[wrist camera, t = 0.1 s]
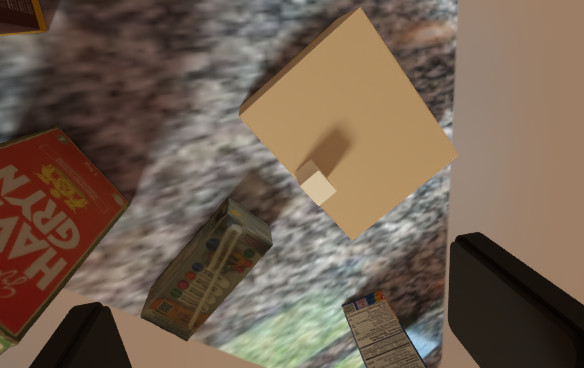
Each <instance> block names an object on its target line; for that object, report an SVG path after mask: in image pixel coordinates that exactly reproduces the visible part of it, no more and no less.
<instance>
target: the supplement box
mask: <svg viewBox="0 0 584 368" xmlns="http://www.w3.org/2000/svg"><path fill="white" fill-rule="evenodd" d="M42 32H47V27H46V23H45V20H44V17H43V13H42V10H41V7H40V3H39V0H0V36H4V35H16V34H29V33H42Z"/></svg>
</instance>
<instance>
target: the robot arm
mask: <svg viewBox="0 0 584 368" xmlns="http://www.w3.org/2000/svg"><path fill="white" fill-rule="evenodd" d="M449 269H450V270H449V299H448V300H449V301H448V322H449V326H450V328H451V330H452V332H453V333H454V335H455V336H456V337H457V338H458V340H459V341H460V342H461V344H462V345H463V346H464V348H465V349H466V350H467V351H468V352H469V354H470V355H471V356H472V358H473V359H474V360H475V362H476V363H477V364H478V365H479V367H480V368H584V305H583V304H581V303H580V302H579V301H577V300H576V299H574V298H573V297H571V296H570V295H569V294H567V293H566V292H564V291H563V290H561V289H560V288H559V287H557V286H556V285H554V284H553V283H551V282H550V281H549V280H547V279H546V278H544V277H543V276H542V275H540V274H539V273H537V272H536V271H534V270H533V269H532V268H530V267H529V266H527V265H526V264H525V263H523V262H522V261H520V260H519V259H517V258H516V257H515V256H513V255H512V254H510V253H509V252H507V251H506V250H505V249H503V248H502V247H500V246H499V245H498V244H496V243H495V242H493V241H492V240H490V239H489V238H488V237H486V236H485V235H483V234H482V233H480V232H475V233H469V234H464V235H458V236H457V237H456V239H455V242H452V243H451V245H450V268H449ZM29 368H132V366H131V364H130V361H129V358H128V355H127V353H126V350H125V348H124V345H123V342H122V339H121V337H120V335H119V332H118V329H117V326H116V323H115V321H114V318H113V315H112V313H111V310H110V308H109V307H108V306H103V305H102V304H101V303H100V302H94V303H88V304H83V305H77V306H74V307H73V308H72V309H71V310H70V311H69V313H68V314H67V315H66V317H65V318H64V319H63V321H62V322H61V324H60V325H59V326H58V328H57V329H56V330H55V332H54V333H53V335H52V336H51V338H50V339H49V340H48V342H47V343H46V344H45V346H44V347H43V349H42V350H41V351H40V353H39V354H38V356H37V357H36V358H35V360H34V361H33V363H32V364H31V365H30V367H29Z"/></svg>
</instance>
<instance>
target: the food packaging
mask: <svg viewBox="0 0 584 368" xmlns="http://www.w3.org/2000/svg"><path fill="white" fill-rule="evenodd" d="M130 204H131V203H130V202H129V201H128V200H127V199H126V198H125V197H124V196H123V195H122V194H121V193H120V192H119V191H118V189H117V188H116V187H115V186H114V185H113V184H112V183H111V182H110V181H109V180H108V179H107V178H106V176H105V175H104V174H103V173H102V172H101V171H100V170H99V169H98V168H97V167H96V166H95V165H94V164H93V162H92V161H91V160H90V159H89V158H88V157H87V156H86V155H85V154H84V153H83V152H82V151H81V150H80V149H79V148H78V147H77V146H76V145H75V143H74V142H73V141H72V140H71V139H70V138H69V137H68V136H67V135H66V134H65V133H64V132H63V131H62V130H61V129H60V128H59V127H58V126H56V125H55V126H53V127H51V128H49V129H46V130H43V131H39V132H36V133H32V134H29V135H25V136H22V137H19V138H16V139H13V140H10V141H7V142H4V143H1V144H0V355H1V354H2V353H3V352H4V351H6V350H7V349H8V348H10V347H13V346H15V345H17V344H19V342H20V341H21V339H22V338H23V337H24V335H25V334H26V333H27V331H28V330H29V329H30V328H31V327H32V325H33V324H34V323H35V322H36V321H37V319H38V318H39V317H40V316H41V314H42V313H43V312H44V311H45V309H46V308H47V307H48V306H49V304H50V303H51V302H52V301H53V299H54V298H55V297H56V296H57V295H58V293H59V292H60V291H61V290H62V289H63V287H64V286H65V285H66V284H67V282H68V281H69V280H70V278H71V277H72V276H73V275H74V273H75V272H76V271H77V269H78V268H79V267H80V266H81V264H82V263H83V262H84V261H85V260H86V258H87V257H88V256H89V255H90V253H91V252H92V251H93V250H94V249H95V247H96V246H97V245H98V244H99V242H100V241H101V240H102V239H103V237H104V236H105V235H106V234H107V233H108V232H109V230H110V229H111V228H112V227H113V225H114V224H115V223H116V222H117V221H118V219H119V218H120V217H121V216H122V214H123V213H124V212H125V211H126V209H127V208H128V207H129V206H130Z"/></svg>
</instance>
